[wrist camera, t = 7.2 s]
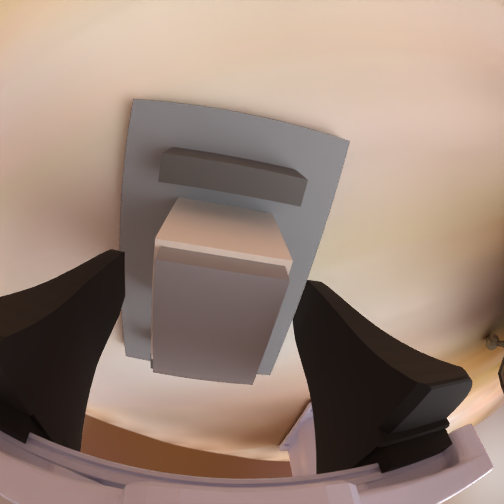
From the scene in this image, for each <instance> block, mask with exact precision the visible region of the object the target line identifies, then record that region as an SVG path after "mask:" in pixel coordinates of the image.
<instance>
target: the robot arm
mask: <svg viewBox="0 0 504 504" xmlns="http://www.w3.org/2000/svg"><path fill="white" fill-rule="evenodd" d="M124 299H125V252H123V251H117V250H111V249H110V250H108V251H106V252H104V253H102V254H100V255H98V256H96V257H94V258H92V259H91V260H89V261H87V262H85V263H83V264H81V265H80V266H78V267H76V268H74V269H72V270H70V271H68V272H66V273H64V274H62V275H60V276H58V277H56V278H54V279H52V280H50V281H47V282H45V283H42V284H40V285H37V286H35V287H32V288H29V289H26V290H23V291H20V292H16V293H13V294H10V295H6V296H2V297H0V495H1V496H2V497H4V498H6V499H7V500H9V501H11V502H13V503H14V504H441V503H442V502H444V501H446V500H448V499H449V498H451V497H453V496H454V495H456V494H458V493H459V492H461V491H462V490H464V489H466V488H467V487H469V486H470V485H472V484H473V483H475V482H476V481H478V480H479V479H480V478H482V477H483V476H485V475H486V474H488V473H489V472H490V471H491V470H493V468H494V467H493V465H492V463H491V461H490V459H489V457H488V455H487V453H486V451H485V449H484V447H483V445H482V443H481V441H480V439H479V437H478V435H477V433H476V431H475V430H474V428H473V426H472V424H468V425H465V426H463V427H461V428H458V429H456V430H454V431H452V432H451V433H449V434H448V433H447V431H446V429H445V428H447V427H448V426H449V424H450V423H449V422H448V420H447V417H448V416H449V415H450V414H451V413H452V412H453V411H454V410H455V409H456V408H457V407H458V406H459V405H460V403H461V402H462V401H463V400H464V399H465V398H466V396H467V395H468V393H469V392H470V390H471V387H472V380H471V378H470V377H469V375H468V374H467V372H466V371H465V370H464V369H463V368H462V367H459V366H456V365H453V364H450V363H447V362H444V361H441V360H438V359H435V358H433V357H431V356H428V355H426V354H424V353H421V352H419V351H417V350H415V349H413V348H411V347H409V346H407V345H406V344H404V343H402V342H400V341H398V340H397V339H395V338H393V337H392V336H390V335H389V334H387V333H386V332H384V331H383V330H381V329H380V328H378V327H377V326H375V325H374V324H373V323H371V322H370V321H369V320H368V319H366V318H365V317H364V316H362V315H361V314H360V313H359V312H357V311H356V310H355V309H354V308H353V307H351V306H350V305H349V304H348V303H347V302H346V301H344V300H343V299H342V298H341V297H340V296H339V295H337V294H336V293H335V292H334V291H333V290H331V289H330V288H329V287H328V286H326V285H325V284H323V283H322V282H318V281H311V280H307V282H306V285H305V288H304V290H303V293H302V296H301V299H300V301H299V304H298V307H297V309H296V312H295V315H294V317H293V327H294V335H295V341H296V345H297V348H298V352H299V355H300V359H301V362H302V366H303V369H304V373H305V376H306V380H307V383H308V387H309V392H310V397H311V402H310V403H309V404H308V406H307V407H306V409H305V410H304V412H303V413H302V415H301V416H300V417H299V419H298V420H297V422H296V423H295V425H294V426H293V428H292V429H291V430H290V432H289V433H288V435H287V436H286V437H285V439H284V440H283V441H282V443H281V444H280V446H279V450H281V451H287V450H288V452H289V458H290V463H291V469H292V475H293V477H285V478H265V479H228V478H208V477H197V476H187V475H178V474H171V473H164V472H158V471H152V470H147V469H142V468H137V467H132V466H128V465H123V464H119V463H115V462H111V461H108V460H104V459H100V458H97V457H93V456H90V455H87V454H84V453H81V452H80V448H81V439H82V429H83V423H84V417H85V412H86V406H87V401H88V397H89V393H90V388H91V384H92V381H93V377H94V373H95V370H96V367H97V364H98V361H99V358H100V356H101V354H102V352H103V349H104V347H105V345H106V343H107V341H108V338H109V336H110V334H111V332H112V330H113V328H114V325H115V323H116V321H117V319H118V317H119V314H120V311H121V308H122V305H123V302H124Z"/></svg>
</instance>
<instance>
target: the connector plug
mask: <svg viewBox="0 0 504 504" xmlns="http://www.w3.org/2000/svg"><path fill="white" fill-rule="evenodd" d="M292 263H293V260H292V257H291V255H290V253H289V250H288V248H287V246H286V243H285V241H284V239H283V237H282V234H281V232H280V230H279V227H278V225H277V223H276V221H275V218H274V216H273V214H271V213H266V212H261V211H255V210H250V209H245V208H239V207H234V206H228V205H223V204H217V203H211V202H205V201H199V200H193V199H187V198H181V197H178V199H177V200H176V202H175V204H174V206H173V207H172V209H171V211H170V213H169V214H168V216H167V218H166V220H165V221H164V223H163V225H162V227H161V229H160V230H159V232H158V234H157V236H156V238H155V246H154V260H153V278H152V306H151V359H153V372H155V373H160V374H166V375H172V376H178V377H185V378H192V379H200V380H208V381H216V382H226V383H237V384H250V385H253V382H254V380H255V377H256V374H257V372H258V369H259V366H260V364H261V361H262V358H263V356H264V353H265V350H266V348H267V345H268V342H269V339H270V337H271V334H272V331H273V328H274V325H275V323H276V320H277V317H278V314H279V311H280V308H281V306H282V303H283V300H284V297H285V294H286V291H287V288H288V285H289V282H290V279H289V276H288V275H289V272H290V269H291V266H292Z"/></svg>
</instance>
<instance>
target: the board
mask: <svg viewBox="0 0 504 504" xmlns="http://www.w3.org/2000/svg"><path fill="white" fill-rule="evenodd" d="M349 142H350V141H348V140H345V139H342V138H339V137H335V136H332V135H329V134H326V133H322V132H319V131H315V130H312V129H308V128H305V127H301V126H297V125H294V124H290V123H286V122H282V121H277V120H273V119H269V118H264V117H260V116H255V115H250V114H245V113H240V112H235V111H230V110H224V109H218V108H212V107H205V106H198V105H191V104H183V103H174V102H165V101H154V100H140V99H133V105H132V110H131V116H130V123H129V129H128V136H127V144H126V152H125V160H124V170H123V181H122V195H121V212H120V251H123V252H125V299H124V302H123V305H122V308H121V310H122V324H123V335H124V345H125V353H126V356H128V357H133V358H138V359H143V360H148V361H151V368H153V359H151V306H152V278H153V260H154V246H155V238H156V236H157V234H158V232H159V230H160V229H161V227H162V225H163V223H164V221H165V220H166V218H167V216H168V214H169V213H170V211H171V209H172V207H173V206H174V204H175V202H176V200H177V199H178V197H181V198H187V199H193V200H199V201H205V202H211V203H217V204H223V205H228V206H234V207H239V208H245V209H250V210H255V211H261V212H266V213H271V214H273V216H274V218H275V221H276V223H277V225H278V227H279V230H280V232H281V234H282V237H283V239H284V241H285V243H286V246H287V248H288V250H289V253H290V255H291V257H292V260H293V263H292V266H291V269H290V272H289V275H288V276H289V279H290V282H289V285H288V288H287V291H286V294H285V297H284V300H283V303H282V306H281V308H280V311H279V314H278V317H277V320H276V323H275V325H274V328H273V331H272V334H271V337H270V339H269V342H268V345H267V348H266V350H265V353H264V356H263V358H262V361H261V364H260V366H259V369H258V372H257V374H261V375H270V374H271V371H272V369H273V367H274V364H275V362H276V359H277V357H278V354H279V352H280V349H281V347H282V344H283V342H284V339H285V337H286V334H287V332H288V329H289V327H290V324H291V321H292V319H293V316H294V314H295V311H296V308H297V306H298V303H299V300H300V297H301V295H302V292H303V289H304V286H305V284H306V281H307V278H308V275H309V272H310V269H311V267H312V264H313V261H314V258H315V255H316V252H317V249H318V246H319V243H320V240H321V237H322V234H323V231H324V228H325V224H326V221H327V218H328V215H329V212H330V209H331V205H332V202H333V199H334V195H335V192H336V189H337V185H338V182H339V178H340V175H341V172H342V168H343V164H344V161H345V157H346V154H347V150H348V146H349Z"/></svg>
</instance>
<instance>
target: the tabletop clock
mask: <svg viewBox="0 0 504 504" xmlns="http://www.w3.org/2000/svg"><path fill="white" fill-rule="evenodd" d="M497 346H501V347H503V348H504V341H499V338H498V336H497V335H495V334H491V335H489V336H488V337H487V339H486V347H487V348H488V349H490V350H493V349H495V348H496V347H497ZM498 375H499V379H500V384H501V388H502V390H503V393H504V358H503V360H502V363H501V366H500V369H499V372H498Z"/></svg>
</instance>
